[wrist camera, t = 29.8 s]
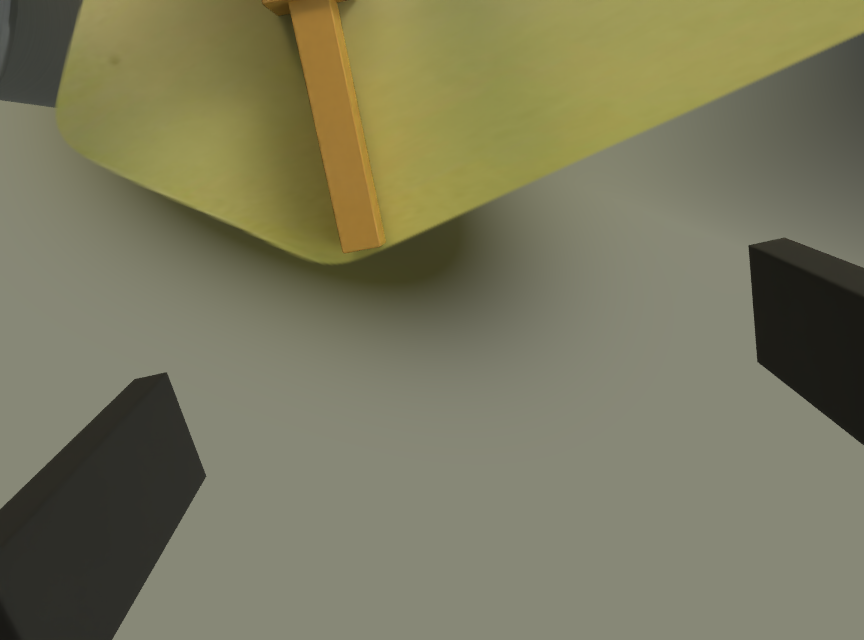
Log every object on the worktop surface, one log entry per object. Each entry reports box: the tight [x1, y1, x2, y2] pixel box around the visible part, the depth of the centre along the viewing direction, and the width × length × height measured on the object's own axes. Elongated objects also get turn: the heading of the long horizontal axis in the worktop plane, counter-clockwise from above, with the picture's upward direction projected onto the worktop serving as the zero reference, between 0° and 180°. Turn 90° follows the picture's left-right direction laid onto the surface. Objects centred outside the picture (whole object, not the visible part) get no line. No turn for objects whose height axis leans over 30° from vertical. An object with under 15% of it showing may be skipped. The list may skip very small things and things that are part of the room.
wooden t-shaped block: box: [262, 0, 386, 253], centre depth 40 cm, size 5×18×3 cm, turn 11°
